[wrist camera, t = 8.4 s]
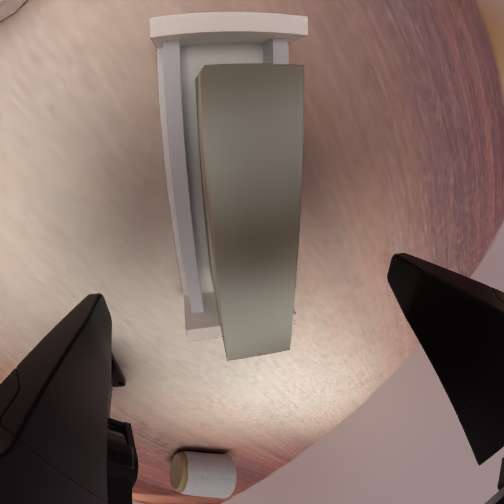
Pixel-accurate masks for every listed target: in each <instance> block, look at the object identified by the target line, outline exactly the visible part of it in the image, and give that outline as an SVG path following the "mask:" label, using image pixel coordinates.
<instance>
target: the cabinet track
mask: <svg viewBox="0 0 504 504" xmlns="http://www.w3.org/2000/svg"><path fill="white" fill-rule="evenodd" d="M305 36H308V17H305V16H297V15H287V14H276V13H260V12H204V13H188V14H176V15H167V16H158V17H151V18H150V38H151V40H152V42H153V43H154V45H155V46H156V48H157V67H158V88H159V105H160V119H161V131H162V143H163V153H164V163H165V172H166V181H167V189H168V197H169V205H170V213H171V220H172V227H173V234H174V240H175V247H176V253H177V259H178V265H179V271H180V277H181V282H182V288H183V293H184V307H185V323H186V333H187V337H188V341H194V340H202V339H210V338H217V337H222V332H221V327H220V322H219V316H218V311H217V306H216V301H215V295H214V290H213V284H212V279H211V273H210V267H209V258H208V248H207V238H206V228H205V217H204V206H203V195H202V183H201V170H200V156H199V141H198V125H197V107H196V85H195V78H196V77H197V75H198V74H199V72H200V71H201V69H202V68H203V66H204V65H212V64H240V63H262V64H289V47H288V43H289V42H292V41H294V40H297V39H300V38H302V37H305ZM295 320H296V312H295V310H293V321H292V325H295Z"/></svg>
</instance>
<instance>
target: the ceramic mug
mask: <svg viewBox="0 0 504 504" xmlns="http://www.w3.org/2000/svg"><path fill="white" fill-rule="evenodd" d="M170 481H171V485H172V487H173V489H174V490H175V491H177V492H179V493H182V494H186V495H193V496H204V497H214V498H227V497H229V496H230V495H231V494H232V493H233V491H234V489H235V485H236V467H235V464H234V461H233V460H232V458H231V457H230V456H229V455H227V454H215V453H201V452H192V451H181V452H178V453H176V454H175V456H174V457H173V459H172V462H171V467H170Z"/></svg>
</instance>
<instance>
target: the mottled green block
mask: <svg viewBox="0 0 504 504" xmlns="http://www.w3.org/2000/svg"><path fill="white" fill-rule="evenodd" d="M195 85H196V107H197V125H198V141H199V156H200V170H201V183H202V195H203V206H204V217H205V228H206V238H207V248H208V258H209V267H210V273H211V279H212V284H213V290H214V295H215V301H216V306H217V311H218V316H219V322H220V327H221V332H222V337H223V342H224V347H225V352H226V357H227V361H229V360H236V359H242V358H248V357H254V356H260V355H265V354H271V353H276V352H281V351H286V350H290V342H291V332H292V321H293V310H294V299H295V287H296V274H297V260H298V245H299V229H300V210H301V189H302V164H303V126H304V65H290V64H262V63H240V64H212V65H204V66H203V68H202V69H201V71H200V72H199V74H198V75H197V77H196V78H195Z"/></svg>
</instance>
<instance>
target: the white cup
mask: <svg viewBox="0 0 504 504" xmlns="http://www.w3.org/2000/svg"><path fill="white" fill-rule="evenodd" d="M26 1H27V0H0V21H1V20H3V19H5V18H6V17H8V16H10V15H11V14H13V13H15V12H16V11H17V10H18V9H19V8H20V7H21V6H22V5H23V4H24V3H25V2H26Z"/></svg>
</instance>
